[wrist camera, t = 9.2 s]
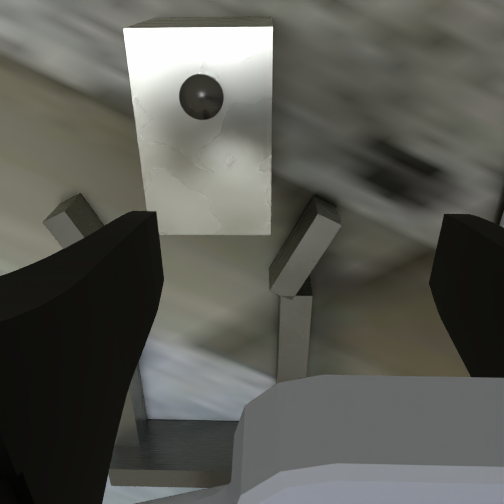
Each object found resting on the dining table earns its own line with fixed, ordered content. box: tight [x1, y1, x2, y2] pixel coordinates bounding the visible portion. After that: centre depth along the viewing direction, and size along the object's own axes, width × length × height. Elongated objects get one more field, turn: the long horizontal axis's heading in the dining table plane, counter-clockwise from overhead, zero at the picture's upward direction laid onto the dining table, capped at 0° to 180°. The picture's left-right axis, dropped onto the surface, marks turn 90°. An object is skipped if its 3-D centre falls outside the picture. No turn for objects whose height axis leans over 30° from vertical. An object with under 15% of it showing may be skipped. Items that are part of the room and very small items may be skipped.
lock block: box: [123, 17, 273, 235], centre depth 18 cm, size 4×7×5 cm, turn 1°
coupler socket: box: [43, 194, 342, 488], centre depth 25 cm, size 13×17×4 cm
